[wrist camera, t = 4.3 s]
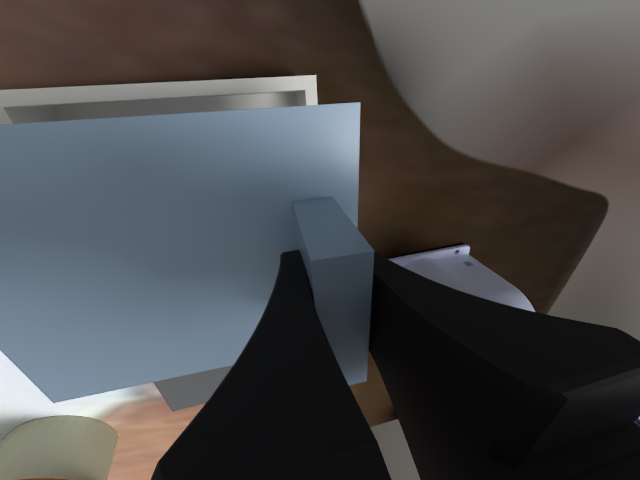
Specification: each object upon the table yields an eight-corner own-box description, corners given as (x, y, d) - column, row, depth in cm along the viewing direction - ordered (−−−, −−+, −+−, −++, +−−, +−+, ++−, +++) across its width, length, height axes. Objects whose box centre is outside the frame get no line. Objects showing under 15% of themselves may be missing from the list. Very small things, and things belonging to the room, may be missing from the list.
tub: (303, 80, 16) (315, 75, 13) (315, 236, 21) (325, 258, 18) (38, 93, 13) (-26, 90, 10) (128, 267, 18) (105, 299, 15)
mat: (303, 291, 23) (303, 294, 23) (312, 371, 29) (313, 374, 29) (123, 327, 21) (121, 331, 20) (173, 407, 27) (172, 411, 26)
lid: (345, 102, 9) (435, 100, 5) (346, 317, 15) (387, 421, 10) (-123, 131, 7) (-888, 185, 2) (76, 370, 13) (-40, 536, 8)
